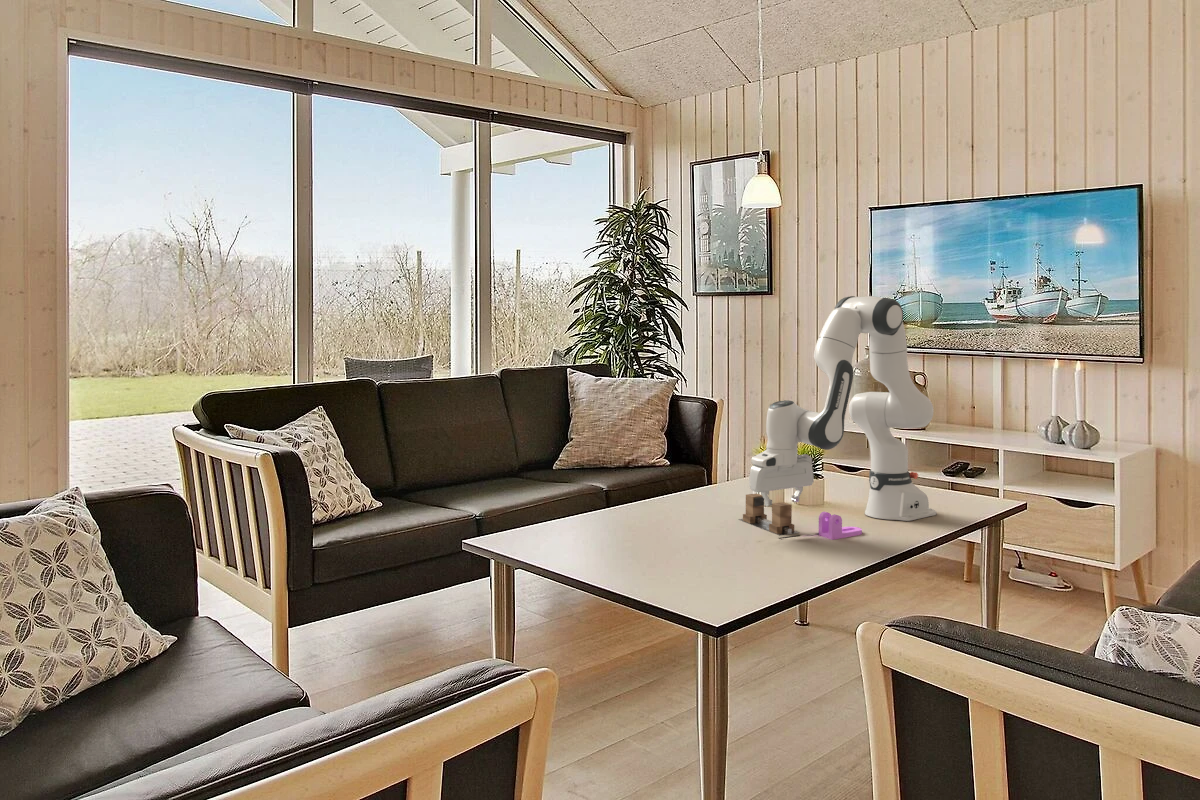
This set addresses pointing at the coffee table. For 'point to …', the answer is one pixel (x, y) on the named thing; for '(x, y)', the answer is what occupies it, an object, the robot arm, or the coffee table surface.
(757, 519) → the rail
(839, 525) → the bracket
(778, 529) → the loose finger
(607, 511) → the coffee table surface
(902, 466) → the robot arm
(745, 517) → the fixed finger
